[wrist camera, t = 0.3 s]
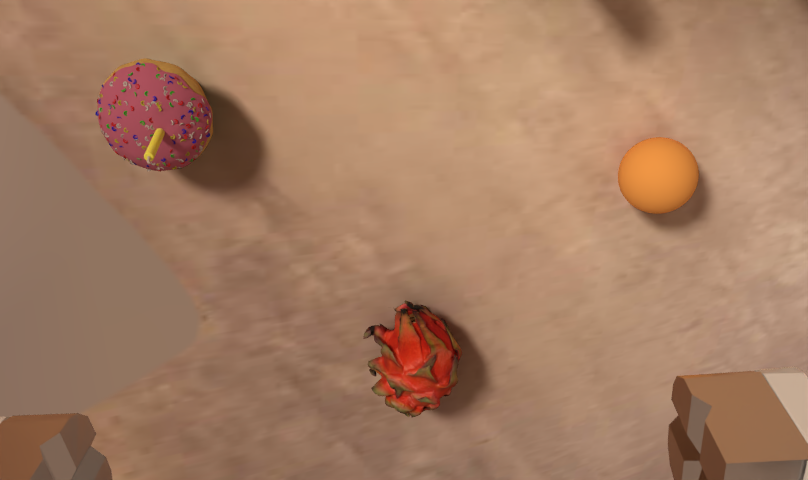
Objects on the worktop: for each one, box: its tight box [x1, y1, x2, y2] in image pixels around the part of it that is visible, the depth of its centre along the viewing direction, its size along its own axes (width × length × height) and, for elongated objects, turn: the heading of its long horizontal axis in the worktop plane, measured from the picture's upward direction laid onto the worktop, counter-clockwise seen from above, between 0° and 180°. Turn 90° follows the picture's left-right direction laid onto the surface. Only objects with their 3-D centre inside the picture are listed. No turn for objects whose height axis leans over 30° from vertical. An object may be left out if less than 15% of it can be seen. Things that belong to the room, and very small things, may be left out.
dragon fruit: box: [364, 301, 462, 417], centre depth 64 cm, size 8×8×12 cm
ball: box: [618, 137, 699, 214], centre depth 55 cm, size 6×6×6 cm
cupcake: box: [96, 59, 213, 171], centre depth 51 cm, size 9×8×12 cm
